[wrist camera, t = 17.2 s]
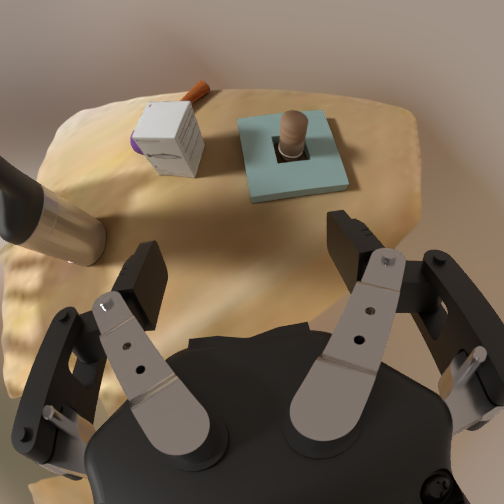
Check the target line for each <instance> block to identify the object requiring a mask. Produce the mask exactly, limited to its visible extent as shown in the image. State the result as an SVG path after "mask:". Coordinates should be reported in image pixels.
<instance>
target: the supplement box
mask: <svg viewBox="0 0 504 504" xmlns="http://www.w3.org/2000/svg"><path fill="white" fill-rule="evenodd" d="M132 138H133V140H134V141H135V142H136V144H137V145H138V147H139V148H140V149H141V151H142V152H143V154H144V155H145V156H146V158H147V159H148V160H149V162H150V163H151V165H152V166H153V167H154V169H155V170H156V171H157V173H158V174H159V175H171V176H182V177H191V178H195V177H196V173H197V170H198V167H199V163H200V160H201V157H202V153H203V150H204V147H205V144H204V141H203V138H202V135H201V132H200V129H199V126H198V123H197V120H196V117H195V114H194V111H193V108H192V105H191V102H190V101H164V102H148V104H147V106H146V108H145V110H144V112H143V114H142V116H141V118H140V120H139V122H138V124H137V126H136V129H135V131H134V133H133V135H132Z"/></svg>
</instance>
